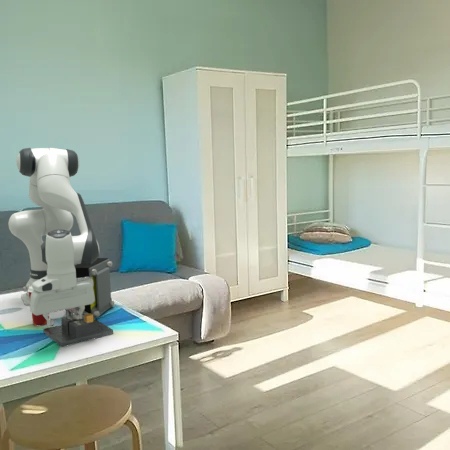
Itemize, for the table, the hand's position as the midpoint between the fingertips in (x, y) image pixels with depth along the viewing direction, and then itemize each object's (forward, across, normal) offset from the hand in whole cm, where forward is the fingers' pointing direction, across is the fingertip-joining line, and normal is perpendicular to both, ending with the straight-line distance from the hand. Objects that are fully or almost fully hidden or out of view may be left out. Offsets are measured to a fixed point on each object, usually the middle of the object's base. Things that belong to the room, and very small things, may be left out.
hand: (64, 322), depth 164 cm
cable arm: (0, -7, -6) cm, 9 cm away
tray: (+7, -7, -7) cm, 12 cm away
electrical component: (+8, -21, -25) cm, 33 cm away
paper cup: (+8, -1, -27) cm, 28 cm away
